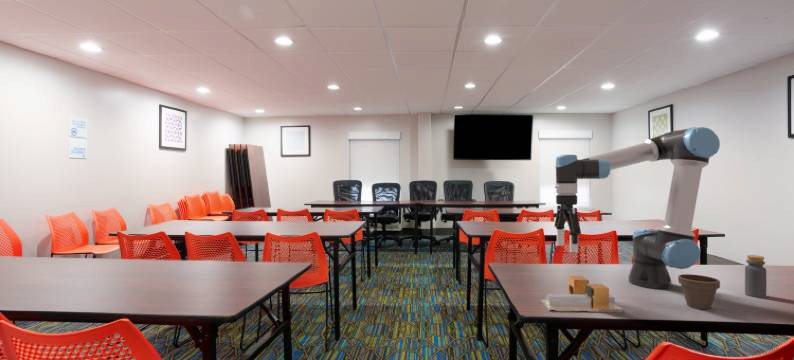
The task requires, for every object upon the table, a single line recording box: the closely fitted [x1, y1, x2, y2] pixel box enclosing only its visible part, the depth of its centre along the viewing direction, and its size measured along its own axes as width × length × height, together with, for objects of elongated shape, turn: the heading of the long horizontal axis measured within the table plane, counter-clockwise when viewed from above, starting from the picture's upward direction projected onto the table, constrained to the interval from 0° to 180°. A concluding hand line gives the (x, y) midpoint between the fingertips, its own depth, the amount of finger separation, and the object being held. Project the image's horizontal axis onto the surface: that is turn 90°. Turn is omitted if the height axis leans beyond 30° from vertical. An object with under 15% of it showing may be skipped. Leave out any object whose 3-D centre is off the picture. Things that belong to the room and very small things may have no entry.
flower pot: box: [677, 273, 721, 310], centre depth 130 cm, size 12×11×10 cm
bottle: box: [744, 254, 767, 299], centre depth 141 cm, size 6×6×15 cm
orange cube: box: [567, 275, 590, 294], centre depth 144 cm, size 6×6×6 cm
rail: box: [540, 283, 623, 313], centre depth 130 cm, size 24×9×8 cm, turn 86°
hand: (567, 248), depth 145 cm, fingers open, 13 cm apart
